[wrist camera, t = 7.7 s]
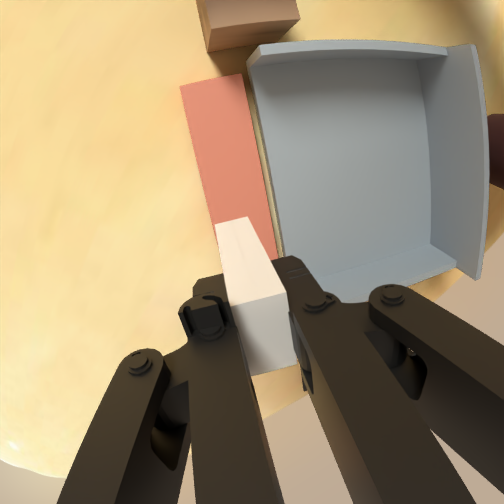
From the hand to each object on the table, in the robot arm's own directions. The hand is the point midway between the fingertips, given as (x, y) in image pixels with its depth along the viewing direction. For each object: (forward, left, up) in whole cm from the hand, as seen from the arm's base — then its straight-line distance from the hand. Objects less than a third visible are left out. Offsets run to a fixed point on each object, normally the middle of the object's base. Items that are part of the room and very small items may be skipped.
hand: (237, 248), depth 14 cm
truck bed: (0, +14, -14) cm, 20 cm away
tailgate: (0, +4, -13) cm, 14 cm away
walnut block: (-15, +5, -14) cm, 21 cm away
